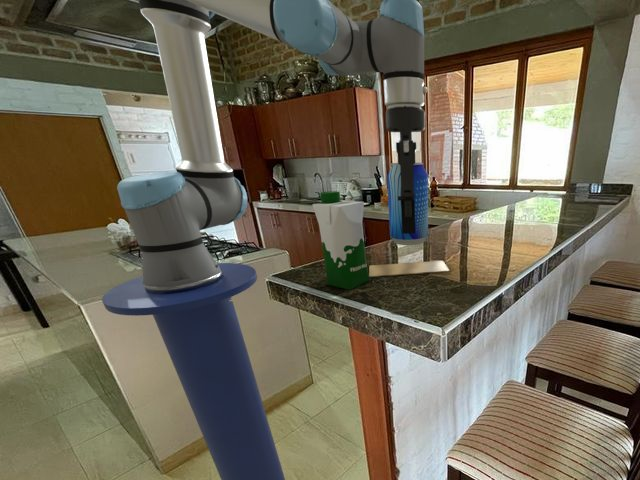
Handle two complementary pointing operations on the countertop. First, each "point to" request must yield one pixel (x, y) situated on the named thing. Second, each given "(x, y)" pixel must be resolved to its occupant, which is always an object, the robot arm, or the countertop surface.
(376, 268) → the mat
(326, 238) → the milk carton
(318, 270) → the countertop surface
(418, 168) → the beer can
